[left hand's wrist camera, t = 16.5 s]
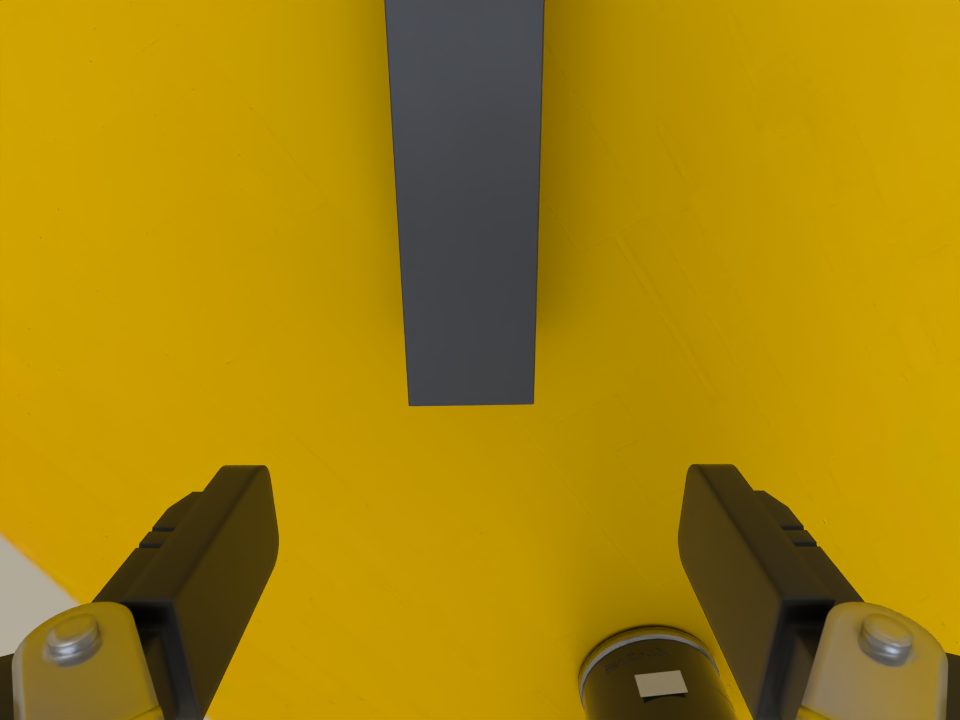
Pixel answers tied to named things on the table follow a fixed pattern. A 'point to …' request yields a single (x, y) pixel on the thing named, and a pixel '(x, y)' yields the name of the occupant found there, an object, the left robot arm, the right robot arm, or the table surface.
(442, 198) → the bar
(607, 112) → the table surface
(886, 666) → the left robot arm
